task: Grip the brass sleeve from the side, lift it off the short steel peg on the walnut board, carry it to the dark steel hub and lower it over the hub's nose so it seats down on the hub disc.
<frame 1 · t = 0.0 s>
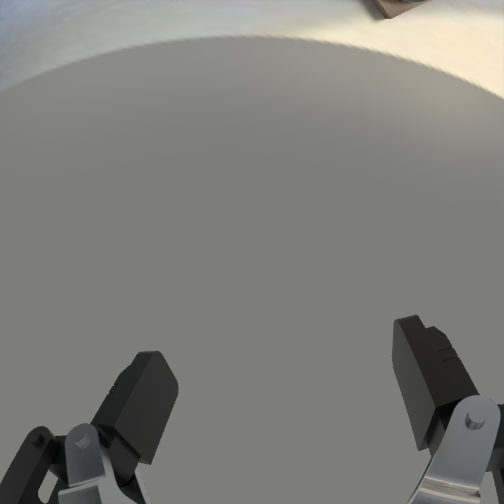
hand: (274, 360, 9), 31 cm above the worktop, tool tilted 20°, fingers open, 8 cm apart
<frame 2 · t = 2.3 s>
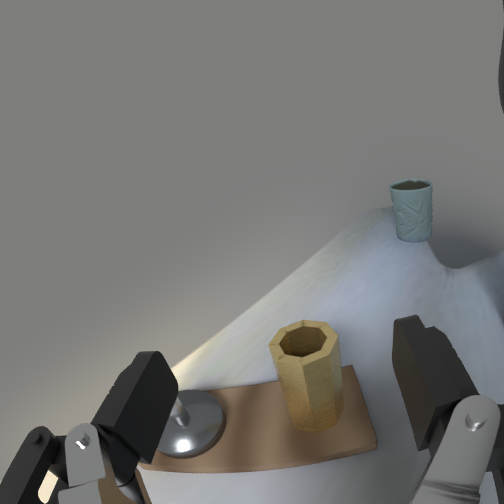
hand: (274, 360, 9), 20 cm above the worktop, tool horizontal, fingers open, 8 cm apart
walnut board: (252, 429, 27), on the worktop
pale green pot: (414, 236, 59), on the worktop
brass sleeve: (316, 411, 26), point 1 cm above the worktop, touching walnut board
steel hub: (187, 426, 27), resting on walnut board
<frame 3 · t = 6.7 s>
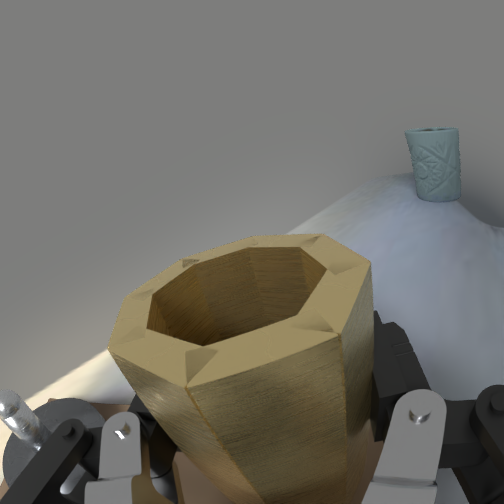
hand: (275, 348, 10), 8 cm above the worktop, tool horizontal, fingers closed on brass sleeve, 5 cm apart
walnut board: (167, 491, 11), on the worktop
pale green pot: (439, 197, 43), on the worktop
brass sleeve: (298, 478, 9), point 2 cm above the worktop, touching gripper, walnut board
steel hub: (62, 460, 11), resting on walnut board
when the fingers open (10 cm above the worktop, at t = 12.5 s): brass sleeve stays where it is, resting on steel hub.
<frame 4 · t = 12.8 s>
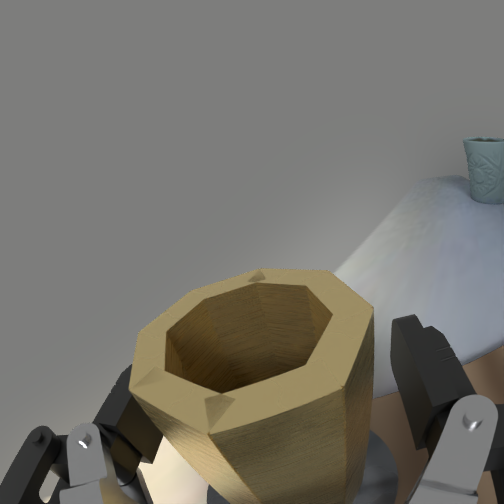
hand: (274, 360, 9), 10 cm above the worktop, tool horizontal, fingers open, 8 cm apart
walnut board: (429, 467, 10), on the worktop
pale green pot: (489, 199, 42), on the worktop
brass sleeve: (300, 487, 10), point 3 cm above the worktop, touching steel hub
steel hub: (304, 494, 10), resting on walnut board
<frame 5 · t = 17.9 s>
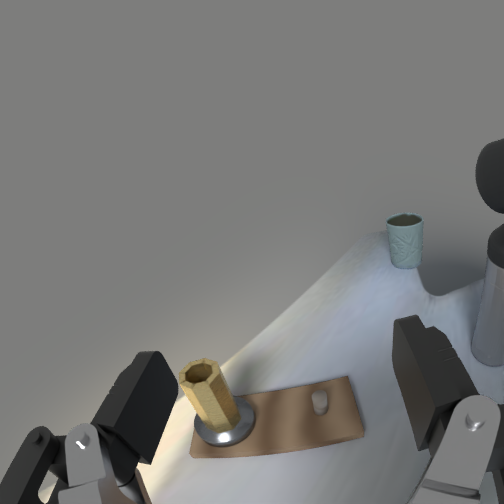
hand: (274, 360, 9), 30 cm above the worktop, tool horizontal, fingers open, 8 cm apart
walnut board: (274, 423, 37), on the worktop
pale green pot: (406, 262, 69), on the worktop
brass sleeve: (223, 418, 37), point 3 cm above the worktop, touching steel hub
steel hub: (226, 423, 37), resting on walnut board
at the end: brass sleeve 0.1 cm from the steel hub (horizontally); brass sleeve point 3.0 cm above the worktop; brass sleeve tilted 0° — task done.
